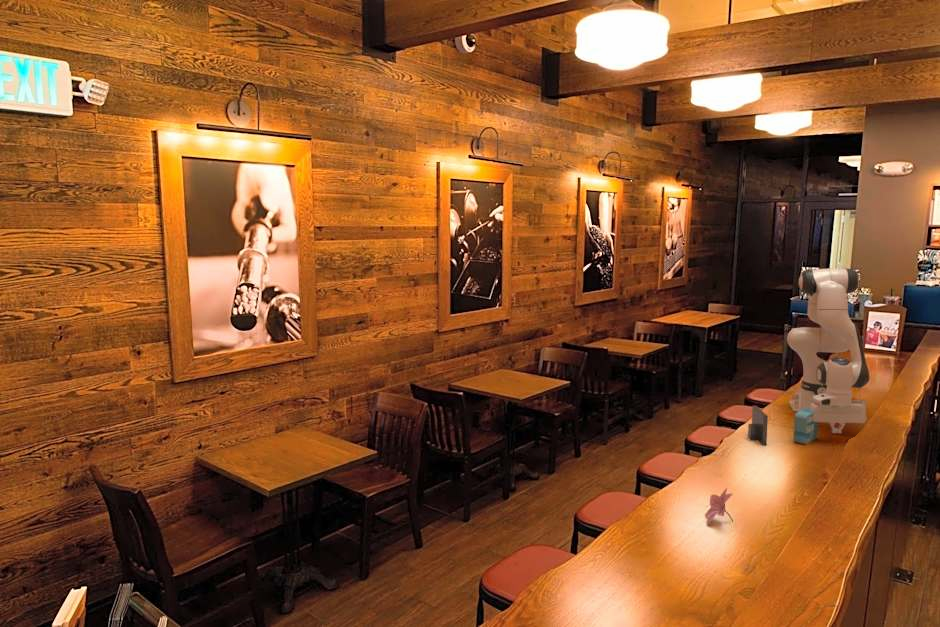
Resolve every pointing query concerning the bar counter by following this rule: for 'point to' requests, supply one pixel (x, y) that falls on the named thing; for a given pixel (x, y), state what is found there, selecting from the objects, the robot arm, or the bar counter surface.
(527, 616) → the bar counter surface
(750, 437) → the bookend
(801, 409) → the robot arm
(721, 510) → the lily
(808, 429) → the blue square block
